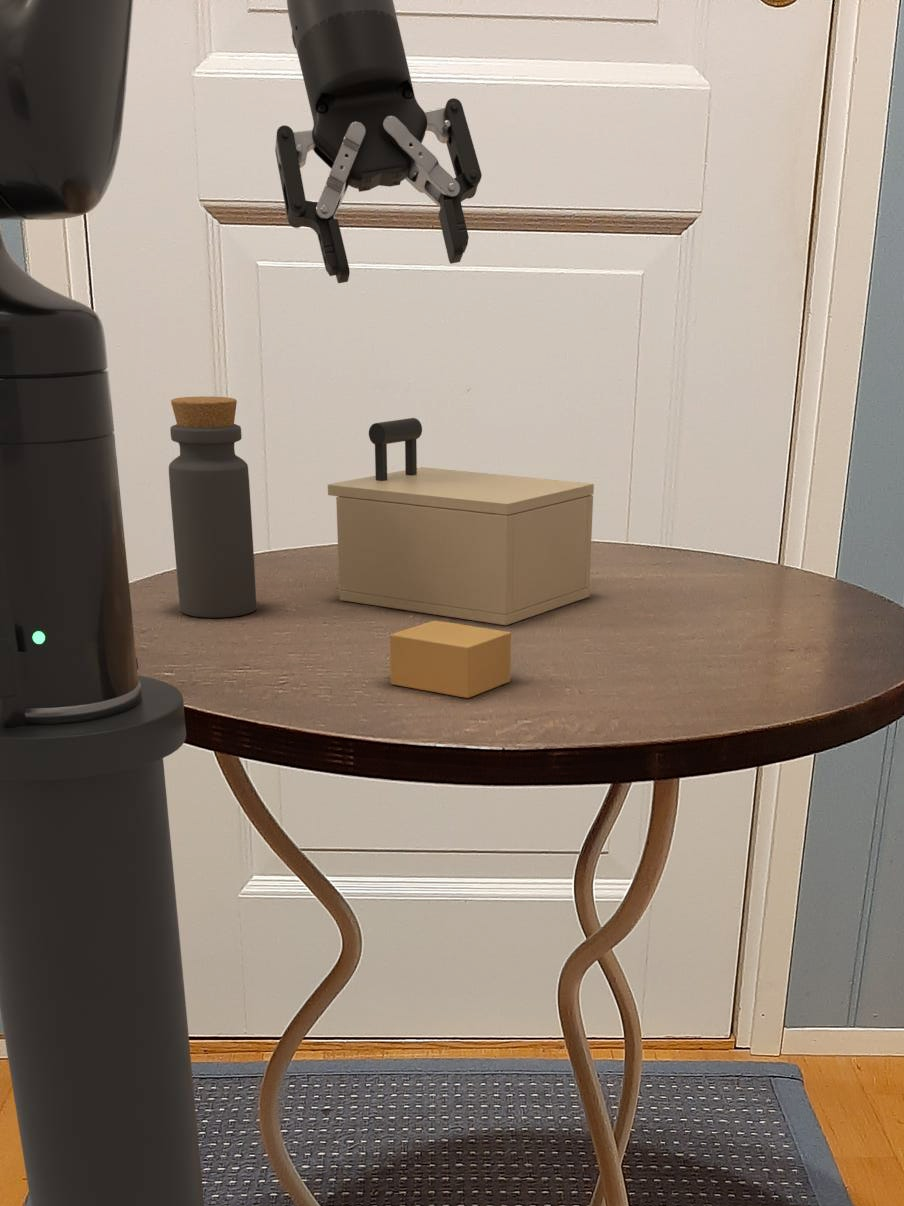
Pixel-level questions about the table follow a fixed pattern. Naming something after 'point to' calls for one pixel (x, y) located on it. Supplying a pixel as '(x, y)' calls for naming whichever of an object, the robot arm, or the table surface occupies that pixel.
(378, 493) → the hinged handled lid
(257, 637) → the table surface
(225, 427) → the bottle
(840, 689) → the table surface
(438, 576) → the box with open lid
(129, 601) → the robot arm
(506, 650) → the tan cardboard carton
